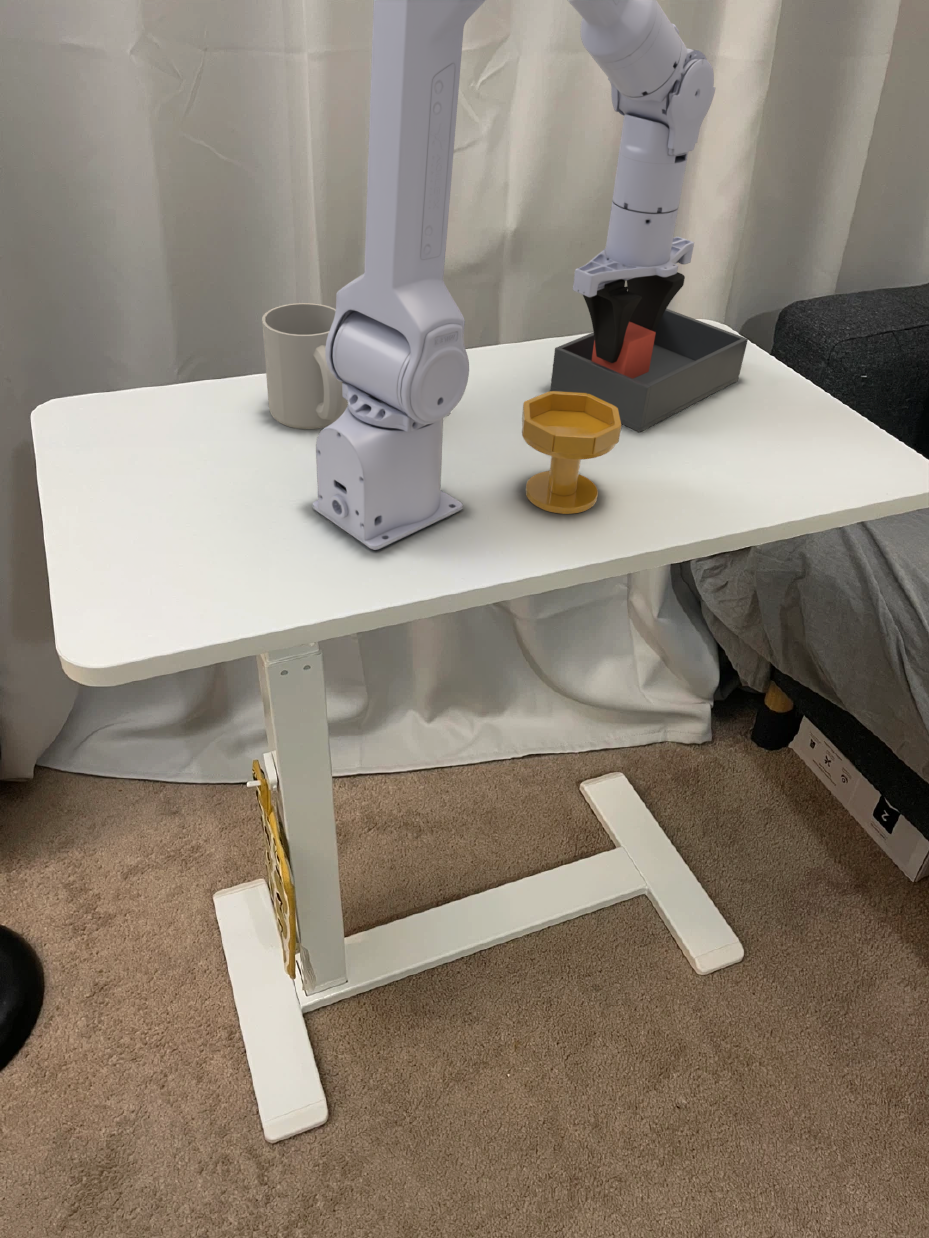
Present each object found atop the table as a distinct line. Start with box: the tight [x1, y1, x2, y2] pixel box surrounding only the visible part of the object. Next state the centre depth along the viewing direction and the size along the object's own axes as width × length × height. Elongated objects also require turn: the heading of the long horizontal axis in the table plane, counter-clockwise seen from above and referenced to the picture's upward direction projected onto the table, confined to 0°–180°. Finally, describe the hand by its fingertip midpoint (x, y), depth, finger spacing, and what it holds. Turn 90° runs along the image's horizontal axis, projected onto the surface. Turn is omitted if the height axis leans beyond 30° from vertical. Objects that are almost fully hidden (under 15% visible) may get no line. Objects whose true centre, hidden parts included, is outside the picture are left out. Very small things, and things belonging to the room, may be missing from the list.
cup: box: [261, 302, 348, 430], centre depth 89 cm, size 7×10×9 cm
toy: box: [592, 322, 656, 379], centre depth 94 cm, size 4×4×4 cm
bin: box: [549, 307, 749, 433], centre depth 99 cm, size 17×11×4 cm, turn 136°
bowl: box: [521, 390, 622, 515], centre depth 81 cm, size 8×8×8 cm
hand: (621, 352), depth 94 cm, fingers closed on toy, 4 cm apart
